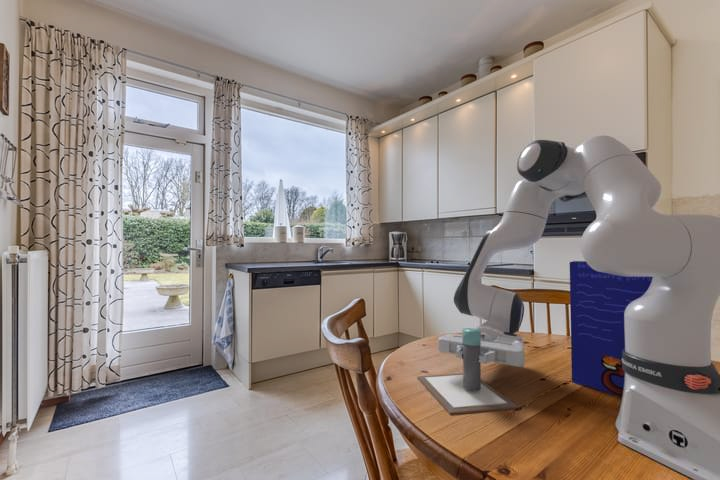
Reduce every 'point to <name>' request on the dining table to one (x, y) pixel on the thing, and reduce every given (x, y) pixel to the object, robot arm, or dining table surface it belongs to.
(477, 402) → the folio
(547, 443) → the dining table surface
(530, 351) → the dining table surface
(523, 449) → the dining table surface
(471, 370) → the marker
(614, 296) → the cereal box
